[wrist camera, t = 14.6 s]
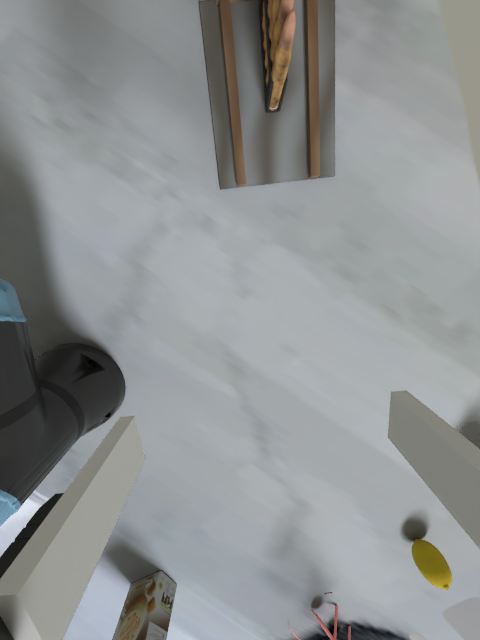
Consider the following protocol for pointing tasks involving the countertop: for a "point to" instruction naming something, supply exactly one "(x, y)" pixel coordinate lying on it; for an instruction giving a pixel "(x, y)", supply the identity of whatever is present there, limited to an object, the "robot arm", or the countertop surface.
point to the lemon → (431, 564)
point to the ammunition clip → (276, 48)
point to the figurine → (333, 639)
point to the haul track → (249, 98)
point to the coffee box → (147, 609)
